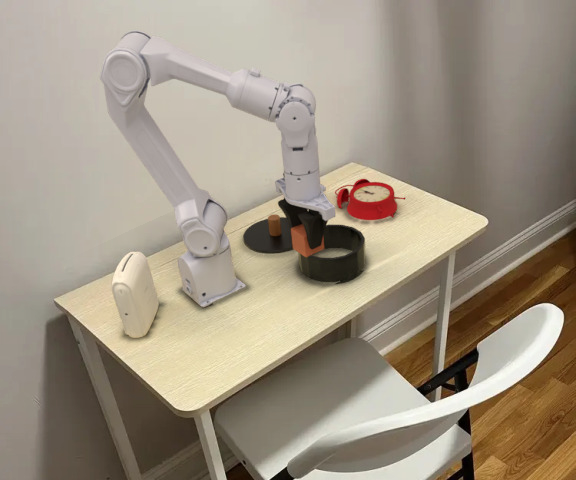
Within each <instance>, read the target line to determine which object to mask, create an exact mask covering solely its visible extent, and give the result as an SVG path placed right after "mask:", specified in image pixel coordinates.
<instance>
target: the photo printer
mask: <svg viewBox="0 0 576 480" xmlns="http://www.w3.org/2000/svg"><path fill="white" fill-rule="evenodd" d="M110 287H111V289H110V290H111V293H112V296H113V299H114V302H115V305H116V309H117V311H118V315H119V318H120V322H121V324H122V327H123V330H124V333H125V335H127V336H128V337H130V338H132V339H140V338H143V337H144V336H146V335H147V334H148V332H149V330H150V328H151V326H152V324H153V322H154V320H155V317H156V315H157V312H158V310H159V306H160V303H159V302H160V301H159V297H158V293H157V290H156V285H155V283H154V279H153V275H152V271H151V268H150V265H149V260H148V258H147V257H146V256H145V254H143V252H141V251H130V252H128V253H126V254H125V255H124V256H123V257H122V259H121V260H120V261H119V263H118V264H117V267H116V268H115V271H114V273H113V277H112V280H111V286H110Z"/></svg>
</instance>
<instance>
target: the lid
mask: <svg viewBox="0 0 576 480" xmlns="http://www.w3.org/2000/svg"><path fill="white" fill-rule="evenodd" d="M242 240H243V243H244V245H245V246H246V247H247V248H248V249H249V250H251V251H253V252H256V253H261V254H279V253H285V252H289V251H291V250H294V249H293V244H292V235H291V227H290V225H289V222H288V220H287V218H286V216H285V217H284V216H280V215H279V214H270V215H268V217H267V218H265V219H262V220H259V221H257V222H254V223H253V224H251V225H250V226H248V228H246V229H245V230H244V233H243V237H242Z"/></svg>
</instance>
